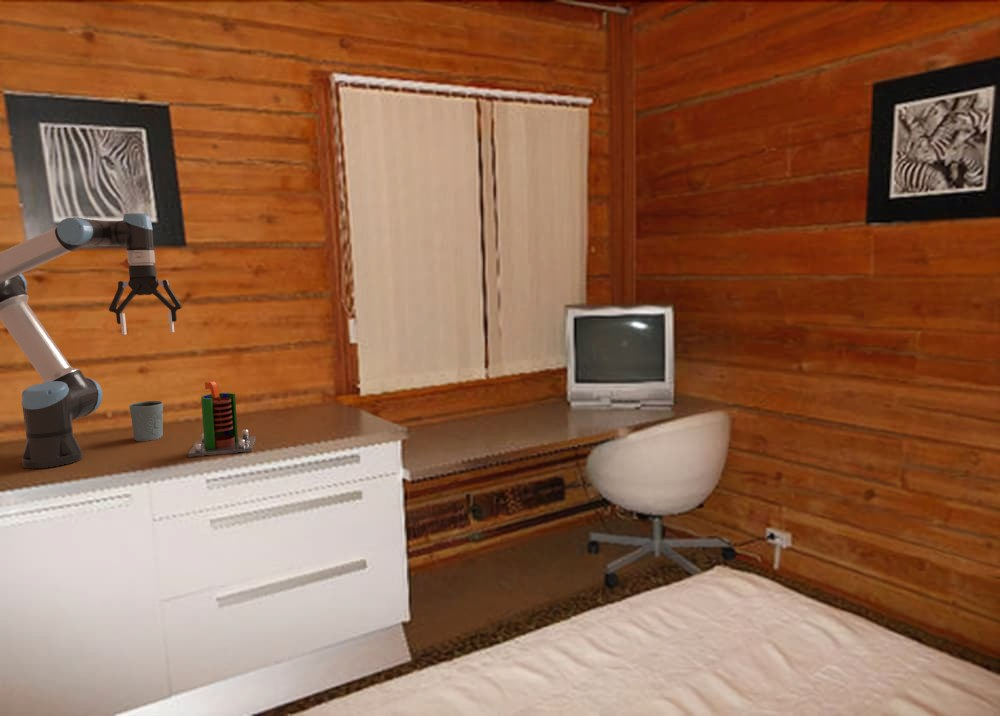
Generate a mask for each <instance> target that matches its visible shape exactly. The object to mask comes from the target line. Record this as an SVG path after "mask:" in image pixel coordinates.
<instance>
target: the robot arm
mask: <svg viewBox="0 0 1000 716" xmlns="http://www.w3.org/2000/svg"><path fill="white" fill-rule="evenodd" d="M122 219H123V220H100V219H99V220H98V219H88V218H82V217H78V216H77V217H74V216H73V217H65V218H63V219H62V220H61V221H60V222H59V223H58V225H57V227H54V228H52V229H50V230H47V231H46V232H43V233H41V234H39V235H36V236H34V237H32V238H30V239H28V240H25V241H22V242H20V243H18V244H15V245H13V246H12V247H9V248H7V249H5V250H2V251H1V252H0V321H1V323H2V325H3V326H4V327H5V329H6V330H7V331H8V332H9V334H10V336H11V337H12V338H13V339H14V341H15V342H16V344H17V345H18V347H19V348H20V350H21V351H22V352H23V354H24V355H25V357H26V358H27V360H28V361H29V363H30V364H31V366H32V367H33V368H34V369H35V371H36V372H37V373H38V376H40V377H39V378H41V380H42V381H43V382H42V383H37V384H33V385H31V386H28V387H26V388H24V389H23V390H22V392H21V407H22V412H23V420H24V429H25V430H24V431H25V435H26V441H25V444H24V448H23V449H24V450H23V454H22V456H21V463H22V467H23V468H24V467H25V469H30V468H32V470H33V468H35V469H36V468H39V469H49V468H48V467H50V468H55V467H54V466H56V467H60V466H59V465H62V466H65V465H64V464H66V465H70V464H73V463H76V462H78V461H80V460H82V459H83V450H82V448H81V446H80V444H79V442H78V440H77V439H76V436H75V435H74V430H73V423H72V421H73V420H77V419H79V418H82V417H87V416H88V415H90V414H92V413H94V412H95V411H96V410H97V409H99V407H100V406H101V404H102V401H103V396H104V395H103V390H102V387H101V385H100V384H99V383H98V382H97V381H96V380H94V379H93V378H89V377H86V376H85V375H84V374H83V372H82V370H81V369H80V368H74V367H72V366H71V364H70V363H69V361H68V360H67V359H66V357H65V355H64V354H63V352H61V350H60V348H59V347H58V346H57V344H56V343H55V341H54V340H53V338H52V337H51V335H50V334H49V333H48V331H47V330H46V328H45V327H44V326H43V324H42V323H41V321H40V320H39V318H38V317H37V315H36V314H35V312H34V311H33V310H32V308H31V307H30V306H29V303H28V302H29V299H30V296H29V294H28V293H27V291H28V289H27V286H28V283H27V280H26V278H25V276H24V275H23V274H24V273H26V272H29V271H30V270H32V269H35V268H37V267H39V266H42V265H43V264H46V263H49V262H51V261H53V260H55V259H58V258H59V257H61V256H64V255H66V254H68V253H70V252H73V251H76V250H78V249H80V248H82V247H85V246H90V247H98V248H99V247H100V248H102V247H119V246H122V247H123V246H125V247H126V255H127V256H126V257H127V263H128V264H129V265H128V277H129V279H128V280H129V281H124V280H119V281H117V290H116V292H115V294H114V297H113V298H112V301H111V304H110V305H109V308H108V311H109V312H110V313H114V314H115V317H116V323H117V325H120V328H121V329H120V331H121V335H122V336H125V335H127V334H128V333H127V324H126V323H127V322H126V314H125V312H123V311H124V310H125V309H126V308H127V306H128V305H129V304H130V302H132V300H133V299H134V298H135V297H136V295H138V296H150V295H153V296H155V297H156V298H157V299H158V300H159V301H160V302H161V303H162V304H163V305H164V306H165V307H167V309H169V311H168V314H167V315H168V323H169V324H168V325H169V333H170V334H172V333H175V323H174V322H177V320H178V319H177V317H178V316H177V311H178V310H181V309H182V308H183V306H182V304H181V302H180V300H179V299H178V298H177V295H175V293H174V291H173V290H172V288H171V286H170V284H169V283H170V282H169V280H167V279H164V280H158V276H157V275H158V274H157V266H156V265H154V264H156V255H155V254H156V253H155V249H154V236H153V233H154V232H153V230H154V229H153V226H152V225H153V224H152V218H151V216H150V215H149V214H147V213H142V212H141V213H139V212H135V213H134V212H129V213H124V214H123V218H122ZM159 286H161V287H162V288H163V289H164V290H165V292H166V293H167V295H168V296H169V298H170V300H171V301H172V303H173V304H174V305H173V304H172V303H171V302H170V301H169V300H168V299H167V298H166V297H165V296H164V295H163V294H162V293H161V292H160V290H158V289H157V288H158V287H159ZM127 287H129V288H130V289H131V290H130V292H129V294H128V295H127V296H126V297H125V299H124V300H123V301H122V302H121V303H120V305H119V302H120V300H121V298H122V295H123V294H124V291H125V289H127ZM81 458H82V459H81ZM75 461H76V462H75ZM72 462H73V463H72ZM69 463H70V464H69Z"/></svg>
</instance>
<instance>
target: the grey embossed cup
mask: <svg viewBox="0 0 1000 716" xmlns="http://www.w3.org/2000/svg"><path fill="white" fill-rule="evenodd" d="M128 405H129V412H130V417H131V426H132V430H133V438H134V441H135V440H136V442H150V441H149V440H152V441H156V439H157V440H160V439H162V438H163V437H162V436H164V434H163V432H164V430H163V429H164V427H163V425H164V422H163V421H164V418H163V417H164V416H163V414H164V412H163V411H164V402H163V401H161V400H159V401H158V400H146V401H137V402H132V403H131V404H128ZM161 437H162V438H161ZM159 438H160V439H159Z"/></svg>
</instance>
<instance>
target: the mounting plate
mask: <svg viewBox="0 0 1000 716" xmlns="http://www.w3.org/2000/svg"><path fill="white" fill-rule="evenodd" d="M241 433H242V437H240V436H238V442H235V444H234V445H232V446H229V447H222V448H215V449H209V448H205V446H204V432H202V433H201V434H200V435H201V440H196V441H195V442H194V444H193V446H192V447H191V449H190V450H189V452H188V453H187V456H188V457H190V458H194V457H193V456H201V457H203V456H202V455H212V456H216V455H215V454H223V455H227V454H226V453H233V454H239V453H238V452H244V453H252V452H253V449H254V446H255V443H256V436H255V435H252V436H249V429H242V432H241ZM254 442H255V443H254ZM253 445H254V446H253Z"/></svg>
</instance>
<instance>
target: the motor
mask: <svg viewBox="0 0 1000 716" xmlns="http://www.w3.org/2000/svg"><path fill="white" fill-rule="evenodd" d="M204 387H205V388H204V390H210V392H211V393H209V394H204V395H201V397H200V400H201V401H200V403H201V414H202V415H201V416H202V427H203V428H202V431H203V432H202V433H204V446H205V448H209V449H215V448H222V447H229V446H232V445H234V444H235V442H238V438H239V435H238V433H239V432H238V422H237V421H238V418H237V405H236V403H237V402H236V393H235V392H234V393H233V392H219V386H218V384H217V383H216V382H215V381H213V380H212V381H207V382H204Z"/></svg>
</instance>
